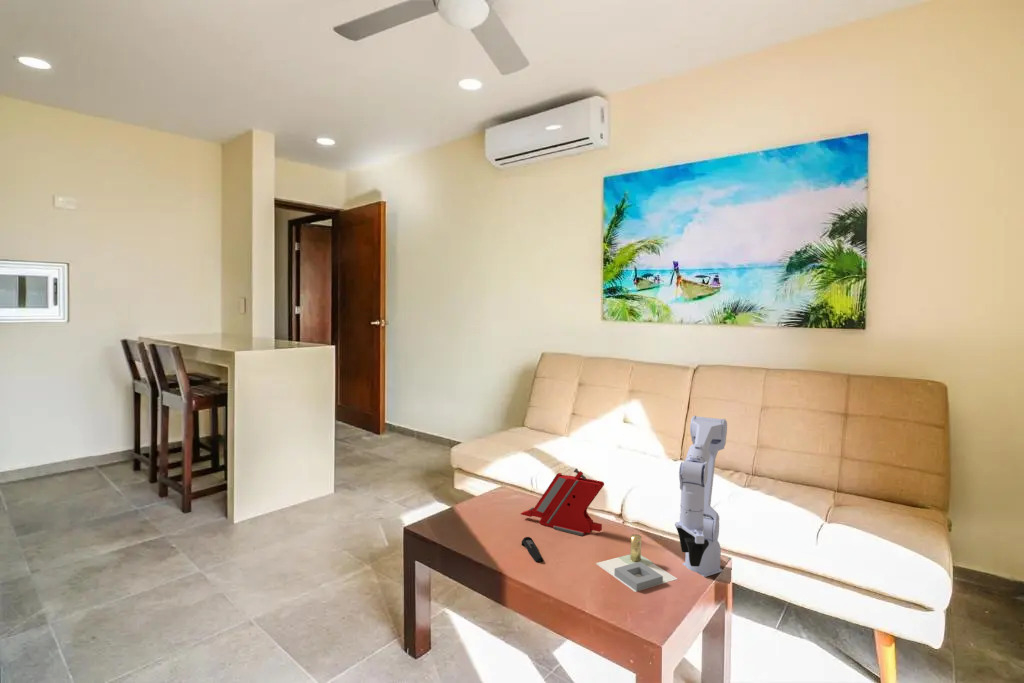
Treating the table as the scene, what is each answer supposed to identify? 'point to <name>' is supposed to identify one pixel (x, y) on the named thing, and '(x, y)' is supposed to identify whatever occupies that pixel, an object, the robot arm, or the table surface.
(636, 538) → the brass cylinder
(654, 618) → the table surface
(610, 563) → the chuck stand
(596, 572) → the table surface
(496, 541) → the table surface
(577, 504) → the tool
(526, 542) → the electric trimmer
